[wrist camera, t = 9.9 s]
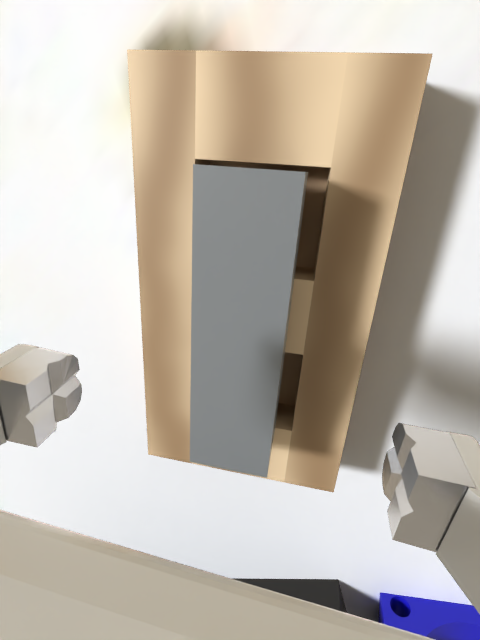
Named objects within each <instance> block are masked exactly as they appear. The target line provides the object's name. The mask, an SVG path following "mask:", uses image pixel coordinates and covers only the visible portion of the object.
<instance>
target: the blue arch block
mask: <svg viewBox="0 0 480 640" xmlns="http://www.w3.org/2000/svg"><path fill="white" fill-rule="evenodd" d="M378 623H382V624H385V625H388V626H392V627H395V628H398V629H402V630H405V631H408V632H412V633H415V634H419V635H422V636H425V637H429V638H432V639H435V640H480V614H479V613H478V611H477V610H476V609H475V607H474V606H472V605H465V604H458V603H451V602H444V601H437V600H430V599H423V598H415V597H408V596H401V595H394V594H387V593H380V602H379V618H378Z"/></svg>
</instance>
